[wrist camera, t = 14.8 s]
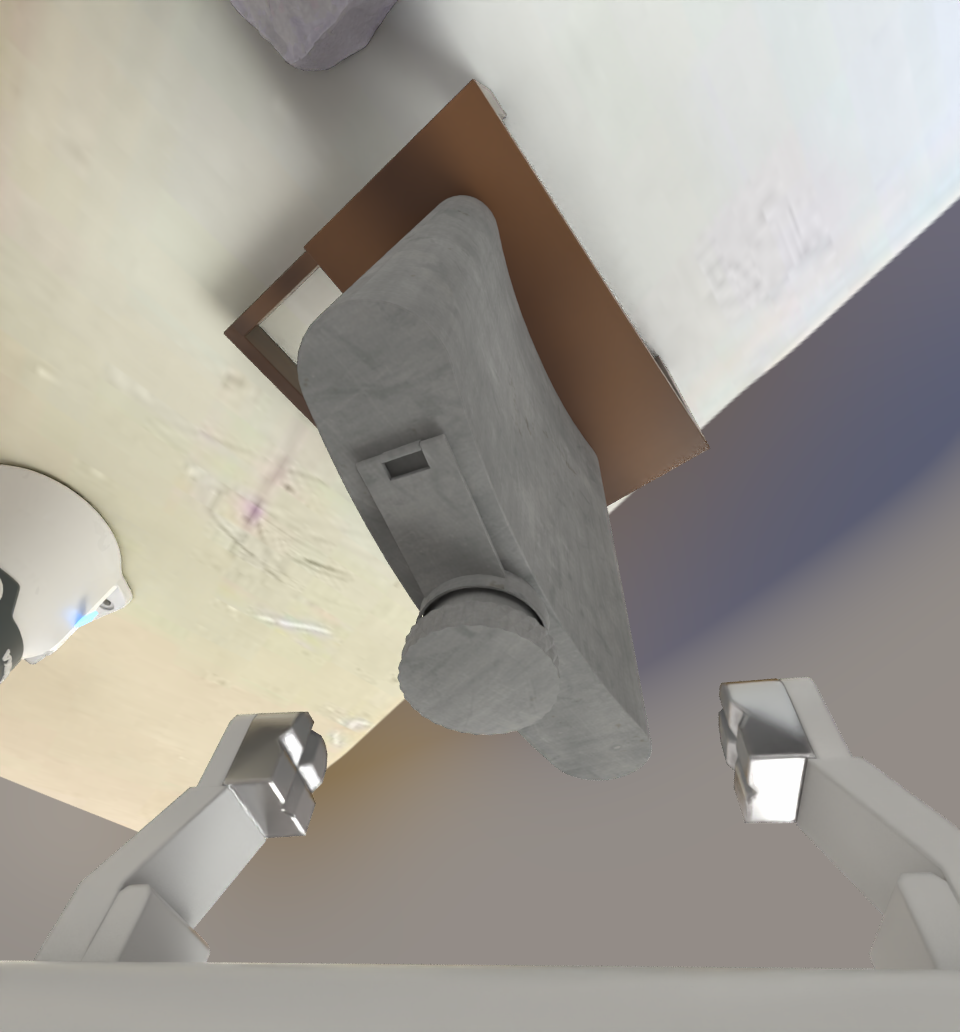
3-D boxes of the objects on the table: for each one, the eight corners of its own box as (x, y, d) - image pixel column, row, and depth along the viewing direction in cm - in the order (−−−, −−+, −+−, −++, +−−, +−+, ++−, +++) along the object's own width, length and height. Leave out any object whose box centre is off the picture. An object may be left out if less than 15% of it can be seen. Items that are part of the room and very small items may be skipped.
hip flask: (606, 479, 33) (682, 853, 16) (538, 504, 34) (543, 875, 17) (479, 180, 25) (372, 305, 8) (397, 226, 26) (164, 413, 10)
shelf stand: (436, 527, 49) (414, 622, 40) (238, 322, 41) (151, 382, 31) (673, 378, 41) (714, 455, 31) (484, 80, 32) (465, 65, 23)
